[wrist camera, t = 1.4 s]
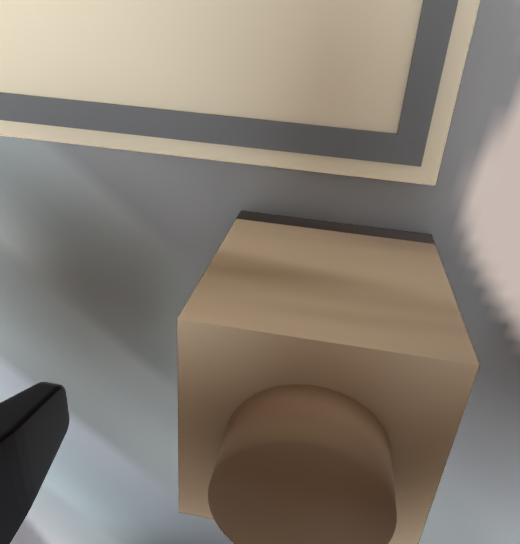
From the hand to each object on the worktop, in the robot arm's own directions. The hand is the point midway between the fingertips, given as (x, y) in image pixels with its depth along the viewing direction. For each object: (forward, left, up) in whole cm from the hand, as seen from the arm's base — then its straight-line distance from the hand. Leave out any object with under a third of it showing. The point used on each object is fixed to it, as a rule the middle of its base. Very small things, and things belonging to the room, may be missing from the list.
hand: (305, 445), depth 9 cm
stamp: (0, 0, -5) cm, 5 cm away
